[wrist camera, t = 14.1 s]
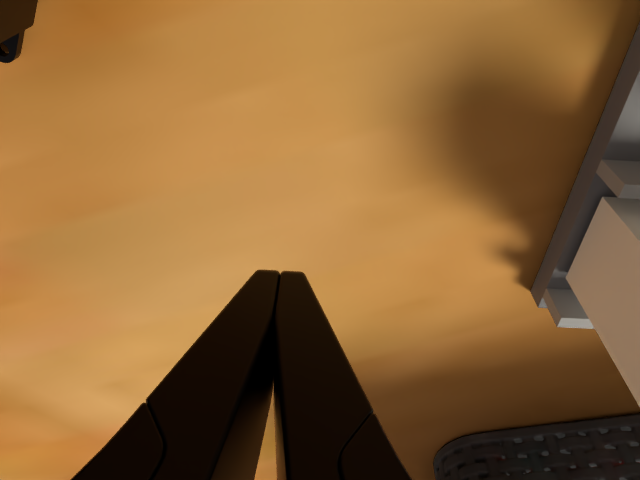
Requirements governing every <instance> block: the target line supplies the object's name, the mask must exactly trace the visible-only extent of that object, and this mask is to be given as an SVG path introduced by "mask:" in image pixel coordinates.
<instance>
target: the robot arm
mask: <svg viewBox="0 0 640 480" xmlns="http://www.w3.org/2000/svg"><path fill="white" fill-rule="evenodd" d="M37 2H38V0H0V43H3V44H4V45H6V46H7V48H8V50H9V53H6V52H4V51H3V50H2V49H1V47H0V62H3V63H10V62H12V61H13V60H15V59H16V58H18V57H19V56H20V53H21V48H22V43H23V37H24V32H25V29H27V28H29V27H31V26H32V25H33V23H34V18H35V13H36V7H37ZM273 384H274V419H275V442H276V464H277V480H412V479H411V477H410V476H409V474H408V472H407V471H406V469H405V468H404V466H403V464H402V463H401V461H400V459H399V457H398V456H397V454H396V452H395V450H394V448H393V447H392V445H391V443H390V441H389V439H388V437H387V436H386V434H385V432H384V430H383V428H382V426H381V424H380V422H379V420H378V418H377V416H376V414H374V413H373V409H372V407H371V405H370V403H369V401H368V399H367V397H366V395H365V393H364V391H363V389H362V387H361V385H360V383H359V381H358V379H357V377H356V375H355V373H354V371H353V369H352V367H351V365H350V363H349V361H348V359H347V357H346V355H345V353H344V351H343V349H342V347H341V345H340V343H339V341H338V339H337V337H336V335H335V333H334V331H333V329H332V327H331V325H330V323H329V321H328V319H327V317H326V315H325V313H324V311H323V309H322V307H321V305H320V303H319V301H318V300H317V298H316V296H315V294H314V292H313V290H312V288H311V286H310V284H309V282H308V280H307V278H306V276H305V274H304V273H303V272H296V271H283V272H281V274H280V273H279V272H278V271H276V270H257V271H256V272H255V273H254V274H253V275H252V276H251V277H250V278H249V280H248V281H247V282H246V283H245V284H244V285H243V287H242V288H241V289H240V290H239V291H238V292H237V294H236V295H235V296H234V297H233V298H232V299H231V301H230V302H229V303H228V304H227V305H226V306H225V308H224V309H223V310H222V311H221V312H220V313H219V315H218V316H217V317H216V318H215V319H214V320H213V322H212V323H211V324H210V325H209V326H208V327H207V329H206V330H205V331H204V332H203V333H202V334H201V336H200V337H199V338H198V339H197V340H196V341H195V343H194V344H193V345H192V346H191V347H190V348H189V350H188V351H187V352H186V353H185V354H184V355H183V357H182V358H181V359H180V360H179V361H178V362H177V364H176V365H175V366H174V367H173V368H172V369H171V371H170V372H169V373H168V374H167V375H166V376H165V378H164V379H163V380H162V381H161V382H160V383H159V385H158V386H157V387H156V388H155V389H154V390H153V392H152V393H151V394H150V395H149V396H148V397H147V399H146V403H142V404H141V405H140V406H139V408H138V409H137V410H136V411H135V412H134V414H133V415H132V416H131V417H130V418H129V419H128V421H127V422H126V423H125V424H124V425H123V426H122V427H121V428H120V429H119V431H118V432H117V433H116V434H115V435H114V436H113V437H112V438H111V439H110V440H109V442H108V443H107V444H106V445H105V446H104V447H103V448H102V449H101V450H100V451H99V452H98V453H97V454H96V455H95V456H94V457H93V458H92V459H91V460H90V461H89V462H88V463H87V464H86V465H85V466H84V467H83V468H82V469H81V470H80V471H79V472H78V473H77V474H76V475H75V476H74V477H73V478H72V479H71V480H254V478H255V473H256V469H257V464H258V459H259V455H260V450H261V445H262V441H263V436H264V431H265V427H266V422H267V417H268V413H269V408H270V403H271V398H272V392H273Z"/></svg>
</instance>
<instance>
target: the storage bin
mask: <svg viewBox="0 0 640 480" xmlns="http://www.w3.org/2000/svg"><path fill="white" fill-rule="evenodd" d="M433 465H434V472H435V477H436V480H640V414H635V415H627V416H619V417H610V418H601V419H592V420H584V421H576V422H568V423H559V424H550V425H541V426H533V427H525V428H516V429H507V430H499V431H491V432H485V433H481V434H475V435H469V436H465V437H461V438H459V439H457V440H454V441H452V442H450V443H449V444H447V445H445V446H444V447H443V448H442V449H441V450H440V451H439V452H438V453H437V455H436V456H435V458H434V462H433Z"/></svg>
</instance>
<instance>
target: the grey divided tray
mask: <svg viewBox="0 0 640 480" xmlns="http://www.w3.org/2000/svg"><path fill="white" fill-rule="evenodd" d="M602 197H618V198H627V199H640V22H639V25H638V27H637V30H636V32H635V34H634V37H633V39H632V42H631V44H630V47H629V49H628V52H627V54H626V57H625V59H624V62H623V64H622V67H621V69H620V72H619V74H618V76H617V79H616V81H615V84H614V86H613V89H612V91H611V94H610V96H609V99H608V101H607V104H606V106H605V109H604V111H603V114H602V116H601V118H600V121H599V123H598V126H597V128H596V131H595V133H594V136H593V138H592V141H591V143H590V146H589V148H588V151H587V153H586V155H585V158H584V160H583V163H582V165H581V168H580V170H579V173H578V175H577V178H576V180H575V183H574V185H573V188H572V190H571V193H570V195H569V197H568V200H567V202H566V205H565V207H564V210H563V212H562V215H561V217H560V220H559V222H558V225H557V227H556V230H555V232H554V235H553V237H552V239H551V242H550V244H549V247H548V249H547V252H546V254H545V257H544V259H543V262H542V264H541V267H540V269H539V272H538V274H537V277H536V279H535V281H534V284H533V286H532V289H531V291H530V292H531V294H532V296H533V298H534V300H535V302H536V304H537V306H538V308H548V310H549V312H550V314H551V316H552V318H553V320H554V322H555V324H556V326H557V327H567V328H587V329H594V327H593V325H592V323H591V322H590V320H589V318H588V316H587V315H586V313H585V311H584V309H583V308H582V306H581V304H580V302H579V301H578V299H577V297H576V295H575V294H574V292H573V290H572V288H571V287H570V285H569V283H568V281H567V280H566V276H567V274H568V272H569V269H570V267H571V265H572V263H573V260H574V258H575V256H576V254H577V252H578V249H579V247H580V245H581V243H582V241H583V238H584V236H585V234H586V232H587V229H588V227H589V225H590V223H591V221H592V218H593V216H594V214H595V212H596V209H597V207H598V205H599V203H600V201H601V198H602Z"/></svg>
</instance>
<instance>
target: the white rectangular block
mask: <svg viewBox="0 0 640 480" xmlns="http://www.w3.org/2000/svg"><path fill="white" fill-rule="evenodd" d="M566 280H567V281H568V283H569V285H570V287H571V288H572V290H573V292H574V294H575V295H576V297H577V299H578V301H579V302H580V304H581V306H582V308H583V309H584V311H585V313H586V315H587V316H588V318H589V320H590V322H591V323H592V325H593V327H594V329H595V330H596V332H597V334H598V335H599V337H600V339H601V341H602V342H603V344H604V346H605V348H606V349H607V351H608V353H609V355H610V356H611V358H612V360H613V362H614V363H615V365H616V367H617V369H618V370H619V372H620V374H621V376H622V377H623V379H624V381H625V383H626V384H627V386H628V388H629V390H630V391H631V393H632V395H633V397H634V398H635V400H636V402H637V404H638V405H639V407H640V199H627V198H618V197H602V198H601V201H600V203H599V205H598V207H597V209H596V212H595V214H594V216H593V218H592V221H591V223H590V225H589V227H588V229H587V232H586V234H585V236H584V238H583V241H582V243H581V245H580V247H579V249H578V252H577V254H576V256H575V258H574V260H573V263H572V265H571V267H570V269H569V272H568V274H567V276H566Z"/></svg>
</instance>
